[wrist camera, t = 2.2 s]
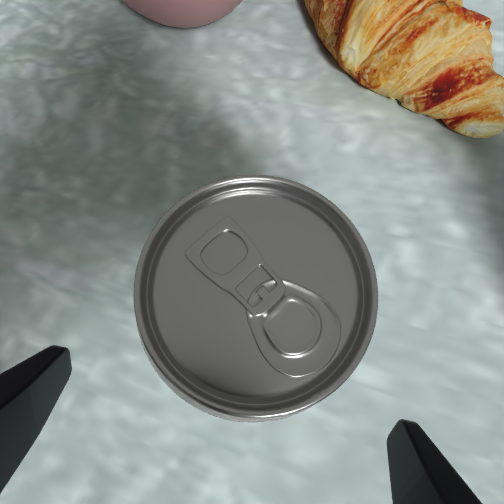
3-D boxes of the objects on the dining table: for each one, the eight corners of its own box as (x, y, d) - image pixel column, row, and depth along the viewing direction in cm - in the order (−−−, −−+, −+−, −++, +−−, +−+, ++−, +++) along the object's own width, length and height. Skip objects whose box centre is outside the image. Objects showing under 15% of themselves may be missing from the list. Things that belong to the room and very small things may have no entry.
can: (239, 407, 18) (255, 522, 6) (162, 319, 19) (52, 277, 7) (319, 323, 19) (452, 289, 8) (244, 246, 20) (260, 114, 9)
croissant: (471, 153, 27) (584, 64, 21) (438, 185, 21) (586, 70, 15) (306, -8, 31) (364, -123, 25) (233, -23, 24) (289, -185, 18)
